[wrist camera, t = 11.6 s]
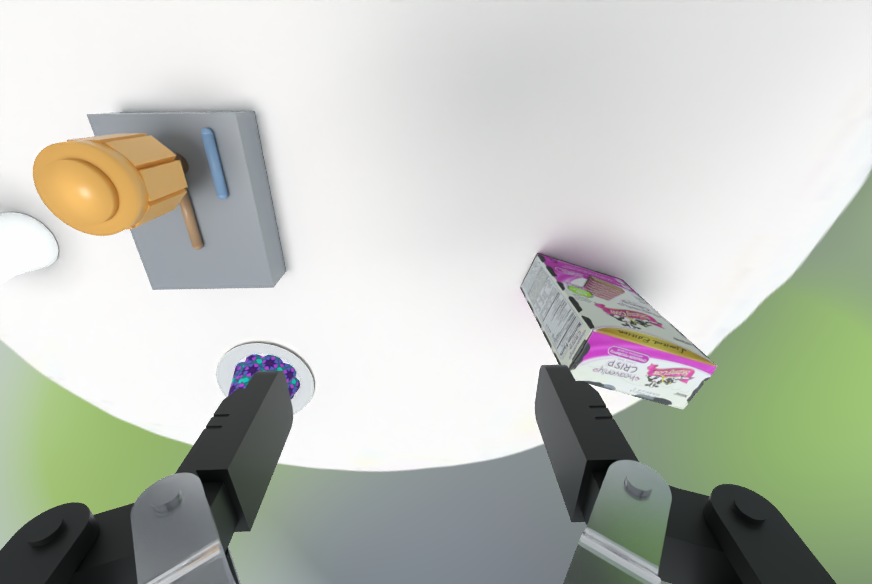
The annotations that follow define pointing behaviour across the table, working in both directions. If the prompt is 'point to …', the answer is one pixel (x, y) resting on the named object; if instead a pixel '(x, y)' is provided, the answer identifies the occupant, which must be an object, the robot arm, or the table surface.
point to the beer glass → (24, 245)
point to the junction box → (208, 202)
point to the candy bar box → (612, 334)
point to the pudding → (267, 363)
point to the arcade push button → (109, 181)
